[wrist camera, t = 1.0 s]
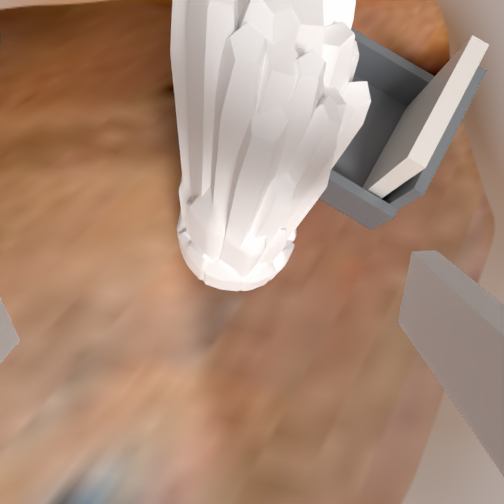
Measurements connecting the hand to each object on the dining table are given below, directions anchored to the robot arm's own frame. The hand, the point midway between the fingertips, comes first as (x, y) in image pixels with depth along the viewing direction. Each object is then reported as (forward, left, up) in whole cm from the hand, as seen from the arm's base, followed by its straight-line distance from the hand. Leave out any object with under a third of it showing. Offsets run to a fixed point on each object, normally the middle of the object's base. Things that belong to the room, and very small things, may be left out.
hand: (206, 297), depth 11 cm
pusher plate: (+8, +23, -21) cm, 33 cm away
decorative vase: (-2, +6, -22) cm, 23 cm away
